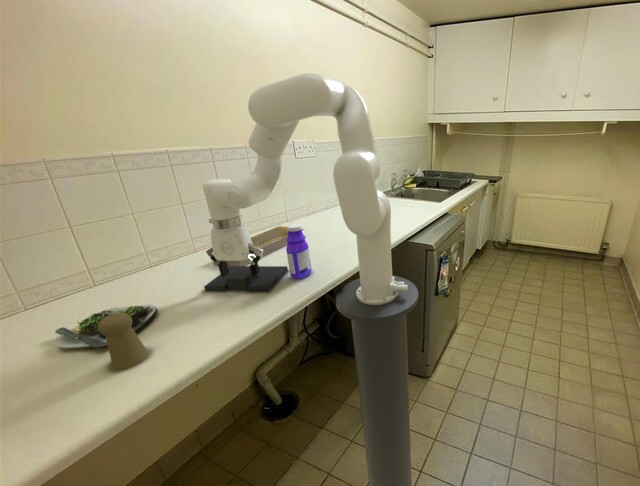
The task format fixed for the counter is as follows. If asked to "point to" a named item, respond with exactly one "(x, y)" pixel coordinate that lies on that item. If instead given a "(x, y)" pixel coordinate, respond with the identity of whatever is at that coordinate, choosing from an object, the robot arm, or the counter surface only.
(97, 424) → the counter surface
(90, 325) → the salad plate
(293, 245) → the bottle
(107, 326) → the cork
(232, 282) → the black square block
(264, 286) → the base pad
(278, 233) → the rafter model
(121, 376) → the counter surface
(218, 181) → the robot arm
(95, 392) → the counter surface
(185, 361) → the counter surface
